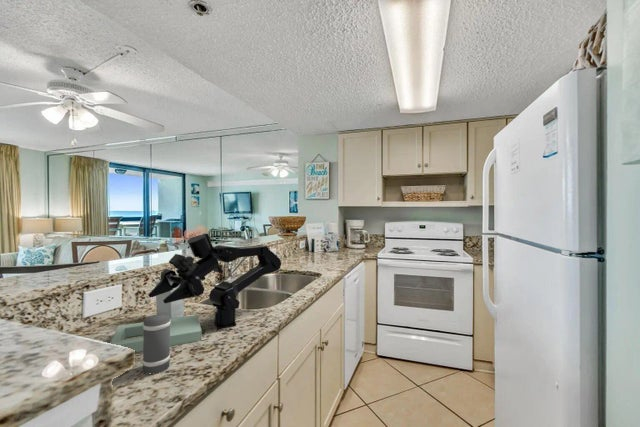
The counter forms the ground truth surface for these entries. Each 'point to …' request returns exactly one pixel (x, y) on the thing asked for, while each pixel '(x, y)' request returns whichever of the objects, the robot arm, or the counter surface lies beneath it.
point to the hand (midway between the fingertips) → (156, 299)
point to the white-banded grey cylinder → (156, 343)
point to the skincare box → (169, 305)
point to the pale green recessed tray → (180, 333)
